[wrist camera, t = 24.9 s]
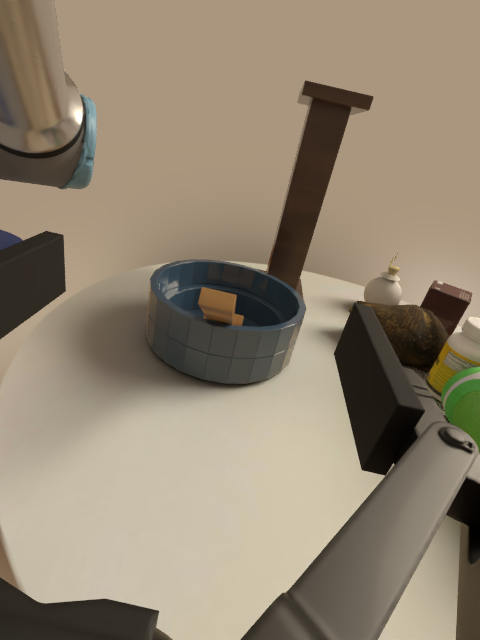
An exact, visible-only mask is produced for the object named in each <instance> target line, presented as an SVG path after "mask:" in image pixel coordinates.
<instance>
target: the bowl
mask: <svg viewBox="0 0 480 640" xmlns="http://www.w3.org/2000/svg"><path fill="white" fill-rule="evenodd" d="M202 287H204V288H209V289H213V290H217V291H221V292H226V293H230V294H234V295H236V306H235V314H237V315H242V316H244V319H243V323H242V326H235V325H229V324H224V323H218V322H214V321H211V320H208V319H205V318H203V317H204V313H203V311H202V310H201V308H200V306H199V305H198V301H199V297H200V293H201V289H202ZM305 311H306V306H305V303H304V300H303V298H302V297H301V296H300V295H299V294H298V292H297V291H296V290H295V289H293V288H292V287H291V286H289V285H288V284H287V283H285V282H283V281H281V280H279V279H278V278H276V277H274V276H272V275H270V274H267V273H265V272H262V271H260V270H257V269H254V268H250V267H247V266H244V265H240V264H235V263H230V262H224V261H215V260H184V261H176V262H173V263H169V264H166V265H163V266H162V267H160V268H159V269H157V270H155V272H154V273H153V275H152V276H151V278H150V286H149V297H148V309H147V320H146V339H147V341H148V343H149V345H150V346H151V348H152V350H153V351H154V352H155V353H156V354H157V355H158V356H159V357H160V358H161V359H162V360H163V361H164V362H165V363H167V364H169V365H171V366H172V367H174V368H176V369H177V370H179V371H181V372H183V373H186V374H188V375H191V376H194V377H197V378H200V379H203V380H208V381H214V382H220V383H226V384H247V383H252V382H257V381H262V380H267V379H269V378H271V377H273V376H275V375H277V374H279V373H280V372H281V371H282V370H283V369H284V368H285V367H286V366H287V365H288V363H289V360H290V357H291V354H292V351H293V348H294V345H295V342H296V339H297V336H298V333H299V330H300V327H301V324H302V321H303V318H304V315H305Z"/></svg>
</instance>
